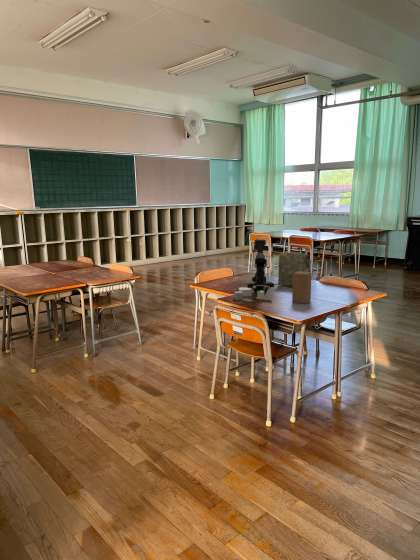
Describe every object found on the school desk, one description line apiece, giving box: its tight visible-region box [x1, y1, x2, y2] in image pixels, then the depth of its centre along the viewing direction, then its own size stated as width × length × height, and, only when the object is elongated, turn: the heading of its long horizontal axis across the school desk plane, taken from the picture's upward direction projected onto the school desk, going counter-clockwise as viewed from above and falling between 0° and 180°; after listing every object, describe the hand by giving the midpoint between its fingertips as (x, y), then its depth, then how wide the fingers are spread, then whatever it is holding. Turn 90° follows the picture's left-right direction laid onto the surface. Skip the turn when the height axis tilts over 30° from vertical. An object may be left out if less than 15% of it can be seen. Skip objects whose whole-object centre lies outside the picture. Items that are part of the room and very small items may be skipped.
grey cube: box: [233, 290, 244, 301], centre depth 288 cm, size 5×5×5 cm
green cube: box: [255, 291, 265, 300], centre depth 289 cm, size 5×5×5 cm
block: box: [291, 271, 312, 305], centre depth 277 cm, size 10×10×20 cm
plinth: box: [238, 286, 252, 297], centre depth 300 cm, size 8×8×5 cm
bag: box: [277, 251, 311, 288], centre depth 327 cm, size 22×16×27 cm
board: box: [242, 298, 257, 303], centre depth 282 cm, size 8×6×1 cm
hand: (259, 297), depth 289 cm, fingers closed on green cube, 5 cm apart
